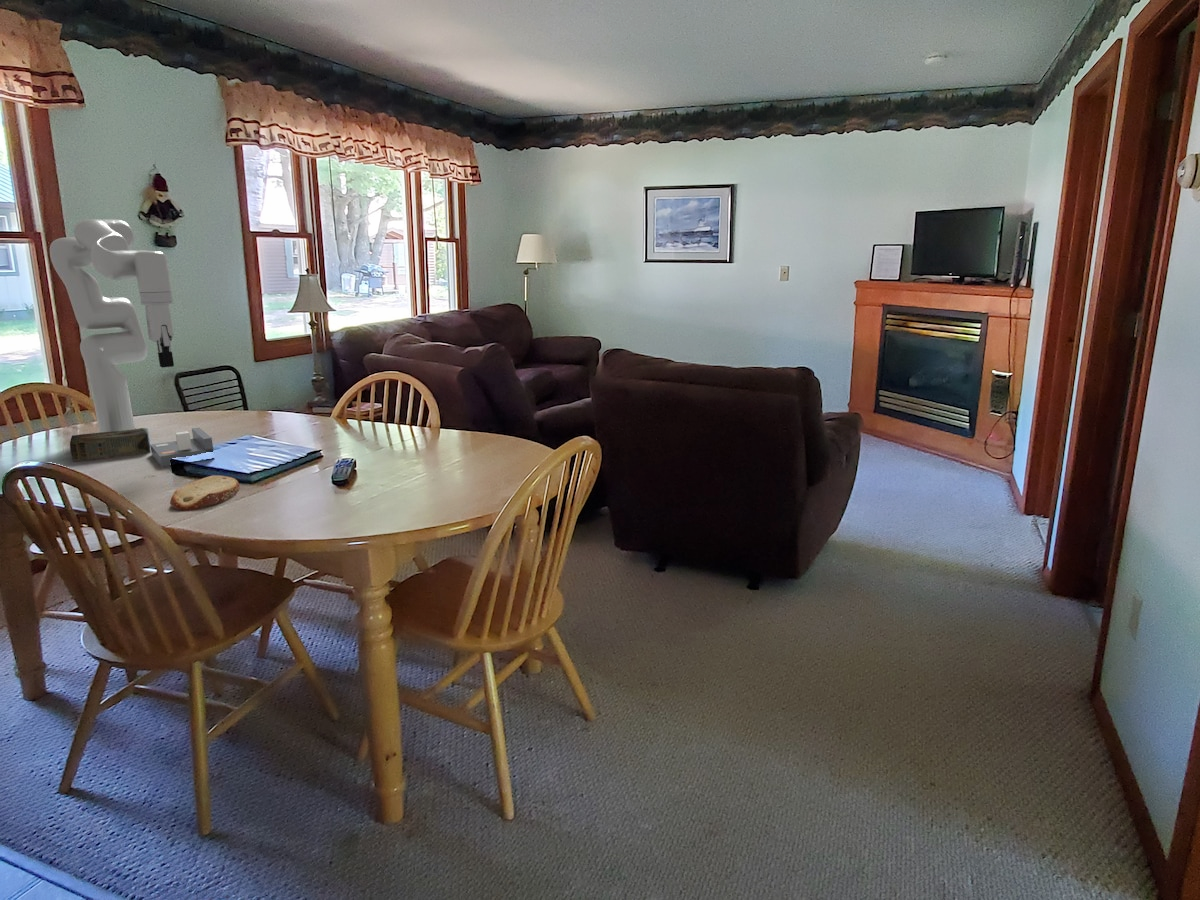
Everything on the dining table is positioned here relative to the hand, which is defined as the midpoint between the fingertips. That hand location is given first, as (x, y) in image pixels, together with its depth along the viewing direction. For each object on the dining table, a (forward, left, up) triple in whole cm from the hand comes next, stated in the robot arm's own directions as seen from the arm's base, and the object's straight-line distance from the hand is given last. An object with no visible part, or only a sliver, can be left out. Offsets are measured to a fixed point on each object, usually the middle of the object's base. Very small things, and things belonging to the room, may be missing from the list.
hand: (167, 366), depth 215 cm
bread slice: (+45, -3, -26) cm, 52 cm away
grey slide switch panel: (+3, 0, -25) cm, 25 cm away
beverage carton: (-14, -15, -26) cm, 33 cm away
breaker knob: (+8, 0, -22) cm, 23 cm away
